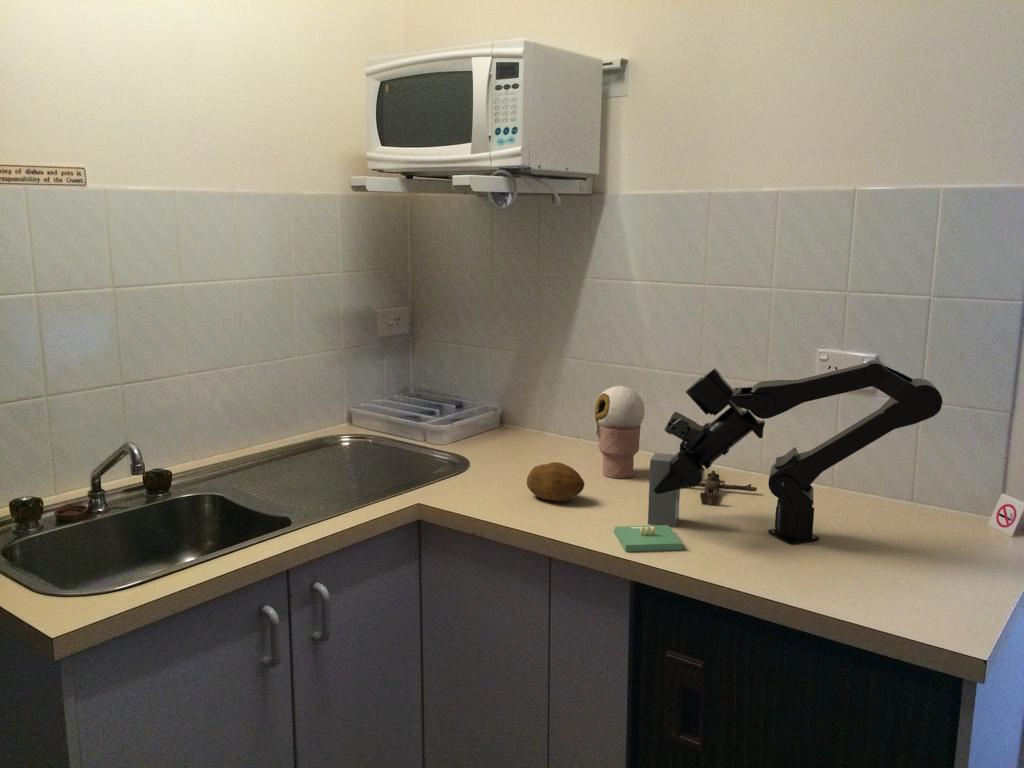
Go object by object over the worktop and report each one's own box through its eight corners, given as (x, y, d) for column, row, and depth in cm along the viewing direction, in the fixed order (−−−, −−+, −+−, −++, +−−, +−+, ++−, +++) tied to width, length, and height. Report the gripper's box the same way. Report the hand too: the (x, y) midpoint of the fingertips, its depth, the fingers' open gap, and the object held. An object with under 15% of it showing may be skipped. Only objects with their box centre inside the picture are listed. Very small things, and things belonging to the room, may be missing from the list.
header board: (667, 531, 159) (668, 517, 158) (682, 549, 150) (682, 535, 150) (614, 532, 158) (614, 519, 157) (625, 551, 149) (625, 537, 149)
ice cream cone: (583, 473, 194) (585, 385, 191) (616, 464, 201) (619, 380, 197) (618, 484, 186) (621, 393, 182) (652, 475, 193) (655, 387, 189)
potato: (532, 490, 183) (533, 454, 181) (589, 496, 178) (590, 460, 177) (519, 501, 175) (520, 464, 174) (579, 509, 171) (580, 471, 169)
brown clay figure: (664, 488, 175) (672, 462, 189) (663, 507, 177) (671, 480, 190) (756, 496, 170) (758, 469, 184) (755, 516, 172) (757, 488, 185)
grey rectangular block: (678, 518, 166) (681, 455, 163) (674, 527, 161) (677, 462, 159) (652, 515, 167) (655, 452, 165) (647, 524, 163) (650, 459, 160)
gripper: (699, 390, 167) (640, 440, 173) (685, 410, 150) (620, 465, 155) (739, 434, 166) (678, 483, 172) (729, 459, 149) (662, 513, 154)
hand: (659, 485), depth 163 cm, fingers open, 9 cm apart
